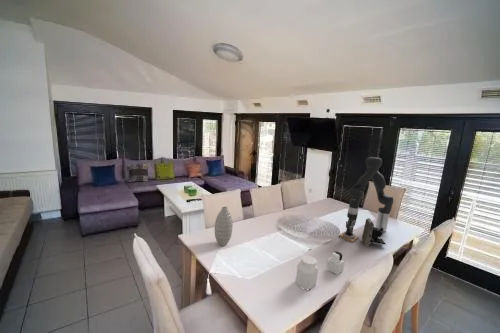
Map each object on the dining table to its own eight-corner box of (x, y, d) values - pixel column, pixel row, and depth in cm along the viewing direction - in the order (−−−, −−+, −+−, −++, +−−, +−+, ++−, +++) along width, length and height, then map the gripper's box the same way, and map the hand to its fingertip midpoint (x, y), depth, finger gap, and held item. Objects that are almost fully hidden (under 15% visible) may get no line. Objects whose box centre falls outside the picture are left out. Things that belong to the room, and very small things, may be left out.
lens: (347, 232, 198) (349, 221, 196) (353, 235, 194) (355, 223, 192) (344, 234, 194) (346, 223, 192) (350, 236, 190) (352, 225, 189)
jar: (305, 274, 141) (308, 252, 139) (318, 283, 134) (322, 260, 131) (292, 282, 134) (295, 258, 131) (306, 292, 127) (309, 267, 124)
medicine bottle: (332, 265, 153) (335, 248, 151) (342, 271, 148) (345, 254, 146) (326, 269, 149) (329, 252, 147) (336, 275, 144) (339, 257, 141)
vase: (215, 239, 175) (216, 203, 170) (231, 240, 176) (234, 204, 170) (212, 248, 163) (214, 210, 158) (230, 249, 163) (233, 211, 158)
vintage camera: (385, 249, 180) (391, 225, 177) (364, 245, 183) (369, 221, 180) (381, 243, 190) (386, 220, 186) (361, 239, 193) (366, 217, 189)
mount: (345, 232, 203) (345, 229, 202) (358, 238, 194) (359, 234, 193) (338, 236, 195) (338, 232, 194) (352, 242, 186) (352, 238, 185)
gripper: (352, 209, 198) (349, 227, 201) (344, 212, 188) (341, 231, 191) (361, 212, 192) (357, 231, 195) (353, 215, 183) (349, 235, 186)
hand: (349, 231), depth 193 cm, fingers closed on lens, 5 cm apart
